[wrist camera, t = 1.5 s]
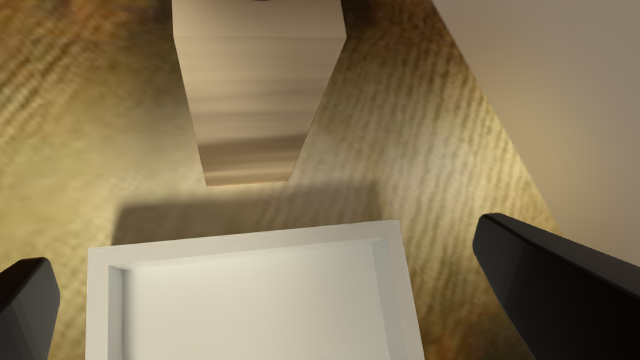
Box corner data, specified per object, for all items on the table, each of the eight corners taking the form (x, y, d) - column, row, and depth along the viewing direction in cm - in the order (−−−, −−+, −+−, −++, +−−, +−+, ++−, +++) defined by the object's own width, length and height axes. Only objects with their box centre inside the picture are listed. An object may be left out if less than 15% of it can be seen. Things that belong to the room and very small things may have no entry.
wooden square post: (288, 180, 23) (376, -36, 9) (206, 186, 22) (155, -47, 8) (280, 109, 25) (346, -185, 10) (202, 111, 24) (151, -210, 9)
